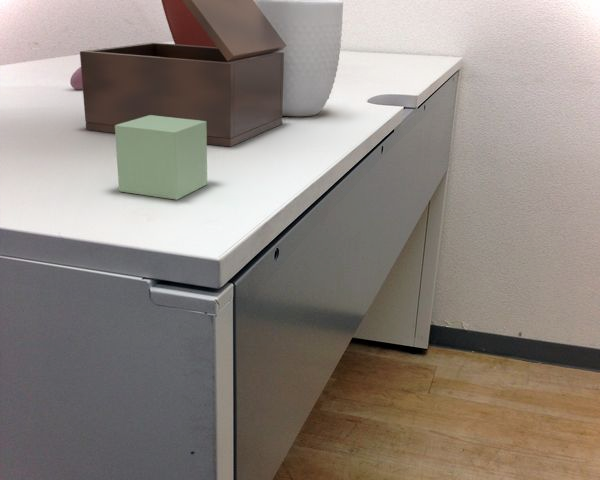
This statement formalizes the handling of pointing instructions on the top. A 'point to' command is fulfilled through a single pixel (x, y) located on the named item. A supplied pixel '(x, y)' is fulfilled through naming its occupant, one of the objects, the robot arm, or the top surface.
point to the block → (161, 156)
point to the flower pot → (185, 25)
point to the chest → (183, 88)
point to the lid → (236, 27)
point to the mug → (306, 50)
